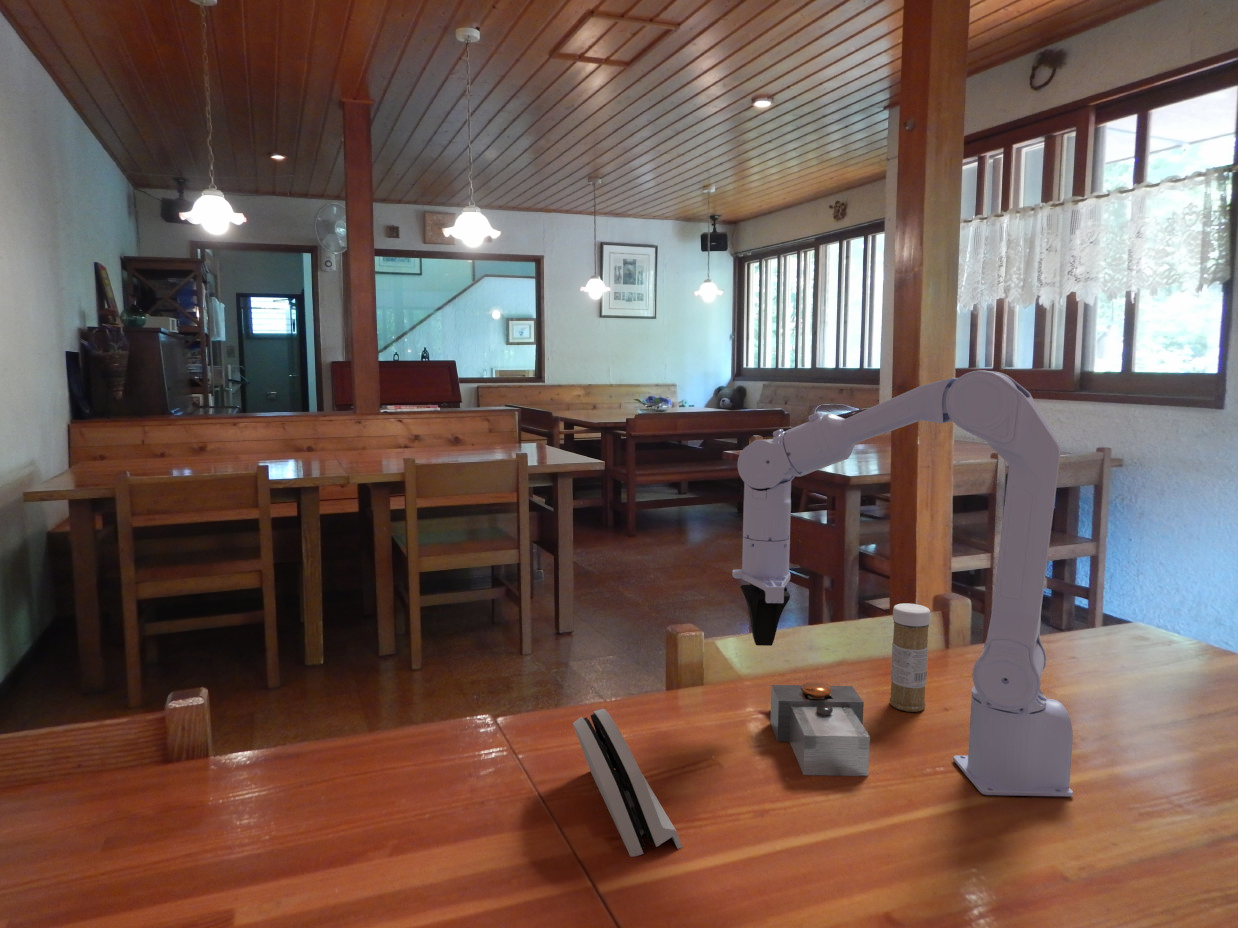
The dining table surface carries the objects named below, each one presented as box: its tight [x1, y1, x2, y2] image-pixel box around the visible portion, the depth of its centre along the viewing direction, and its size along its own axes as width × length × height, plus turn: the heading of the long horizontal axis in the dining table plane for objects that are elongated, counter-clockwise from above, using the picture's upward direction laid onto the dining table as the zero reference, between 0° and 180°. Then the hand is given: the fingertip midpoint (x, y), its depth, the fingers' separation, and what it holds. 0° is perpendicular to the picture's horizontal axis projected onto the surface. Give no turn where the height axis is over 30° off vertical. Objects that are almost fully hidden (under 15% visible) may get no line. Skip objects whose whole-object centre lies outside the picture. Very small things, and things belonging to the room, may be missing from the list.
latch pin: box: [802, 681, 831, 699], centre depth 97 cm, size 3×3×4 cm
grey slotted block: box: [572, 708, 683, 857], centre depth 80 cm, size 17×5×10 cm, turn 15°
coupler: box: [770, 684, 865, 743], centre depth 98 cm, size 15×10×5 cm
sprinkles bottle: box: [889, 602, 931, 713], centre depth 105 cm, size 5×5×13 cm
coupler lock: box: [789, 705, 871, 777], centre depth 91 cm, size 8×7×5 cm
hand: (763, 643), depth 100 cm, fingers closed
